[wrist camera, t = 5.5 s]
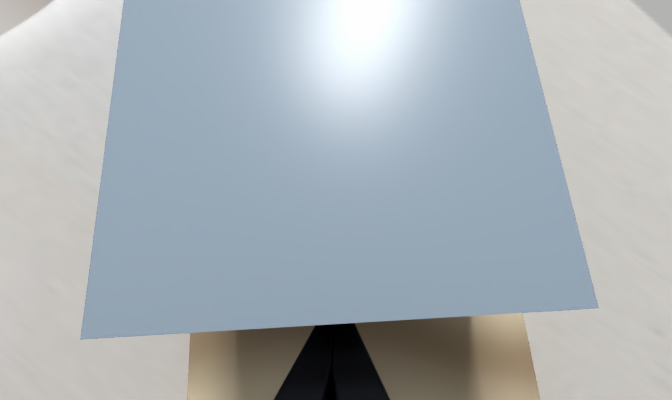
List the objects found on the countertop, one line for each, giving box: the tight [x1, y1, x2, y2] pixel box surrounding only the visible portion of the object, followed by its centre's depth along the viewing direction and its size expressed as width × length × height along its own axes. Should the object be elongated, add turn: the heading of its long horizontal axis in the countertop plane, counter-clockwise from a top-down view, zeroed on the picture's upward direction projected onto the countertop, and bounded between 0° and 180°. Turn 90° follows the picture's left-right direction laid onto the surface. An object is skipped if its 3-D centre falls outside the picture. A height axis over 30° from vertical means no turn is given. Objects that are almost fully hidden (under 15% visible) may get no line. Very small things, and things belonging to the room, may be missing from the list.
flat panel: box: [187, 313, 540, 400], centre depth 13 cm, size 22×14×5 cm, turn 4°
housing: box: [80, 0, 599, 340], centre depth 12 cm, size 9×10×8 cm
